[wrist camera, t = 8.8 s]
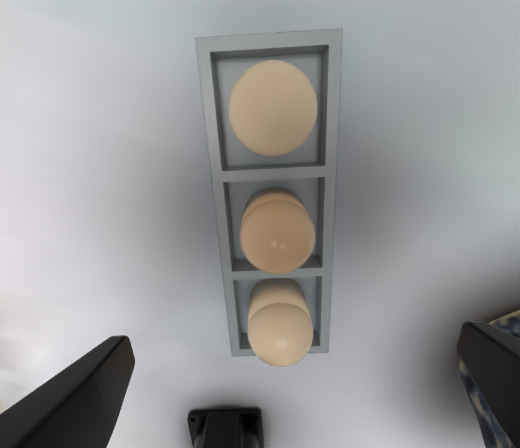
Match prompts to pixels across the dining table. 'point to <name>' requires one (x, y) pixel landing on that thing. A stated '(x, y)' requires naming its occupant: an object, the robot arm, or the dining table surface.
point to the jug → (490, 428)
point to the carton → (274, 177)
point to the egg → (276, 231)
